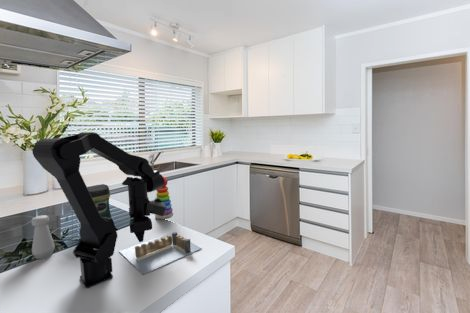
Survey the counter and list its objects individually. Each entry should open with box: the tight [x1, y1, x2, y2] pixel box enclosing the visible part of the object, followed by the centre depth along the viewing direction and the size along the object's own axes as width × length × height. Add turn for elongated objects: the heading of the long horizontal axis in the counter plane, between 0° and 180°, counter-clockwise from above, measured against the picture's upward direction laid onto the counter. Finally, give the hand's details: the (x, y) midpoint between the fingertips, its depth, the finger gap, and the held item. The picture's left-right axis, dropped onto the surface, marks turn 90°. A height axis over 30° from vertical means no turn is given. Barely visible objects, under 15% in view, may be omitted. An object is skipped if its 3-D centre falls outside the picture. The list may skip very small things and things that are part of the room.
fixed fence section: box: [171, 231, 191, 253], centre depth 82 cm, size 2×9×4 cm, turn 45°
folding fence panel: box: [135, 235, 172, 258], centre depth 79 cm, size 12×1×3 cm, turn 134°
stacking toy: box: [154, 176, 174, 220], centre depth 110 cm, size 8×8×19 cm
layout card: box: [118, 231, 202, 276], centre depth 81 cm, size 20×18×1 cm
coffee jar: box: [87, 183, 113, 220], centre depth 94 cm, size 10×8×19 cm
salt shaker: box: [31, 214, 56, 260], centre depth 77 cm, size 6×6×13 cm
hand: (141, 241), depth 81 cm, fingers closed
